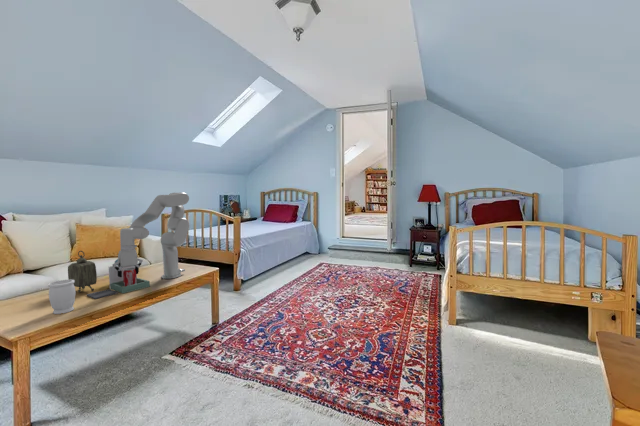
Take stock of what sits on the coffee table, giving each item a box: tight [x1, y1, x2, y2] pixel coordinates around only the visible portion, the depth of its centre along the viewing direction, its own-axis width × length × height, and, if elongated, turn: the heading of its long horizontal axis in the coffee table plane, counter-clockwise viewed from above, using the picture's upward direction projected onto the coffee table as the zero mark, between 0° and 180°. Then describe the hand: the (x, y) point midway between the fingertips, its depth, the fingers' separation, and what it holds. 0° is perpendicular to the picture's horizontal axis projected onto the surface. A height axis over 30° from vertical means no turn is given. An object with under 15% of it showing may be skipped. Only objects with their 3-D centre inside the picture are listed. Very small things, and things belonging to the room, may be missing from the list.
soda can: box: [123, 268, 137, 287], centre depth 198 cm, size 7×7×12 cm
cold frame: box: [108, 265, 151, 294], centre depth 198 cm, size 16×17×14 cm
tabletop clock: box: [67, 250, 98, 293], centre depth 192 cm, size 14×9×25 cm, turn 62°
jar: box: [47, 279, 77, 315], centre depth 159 cm, size 11×10×15 cm
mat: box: [85, 288, 119, 300], centre depth 186 cm, size 12×12×1 cm
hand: (128, 275), depth 197 cm, fingers open, 9 cm apart
